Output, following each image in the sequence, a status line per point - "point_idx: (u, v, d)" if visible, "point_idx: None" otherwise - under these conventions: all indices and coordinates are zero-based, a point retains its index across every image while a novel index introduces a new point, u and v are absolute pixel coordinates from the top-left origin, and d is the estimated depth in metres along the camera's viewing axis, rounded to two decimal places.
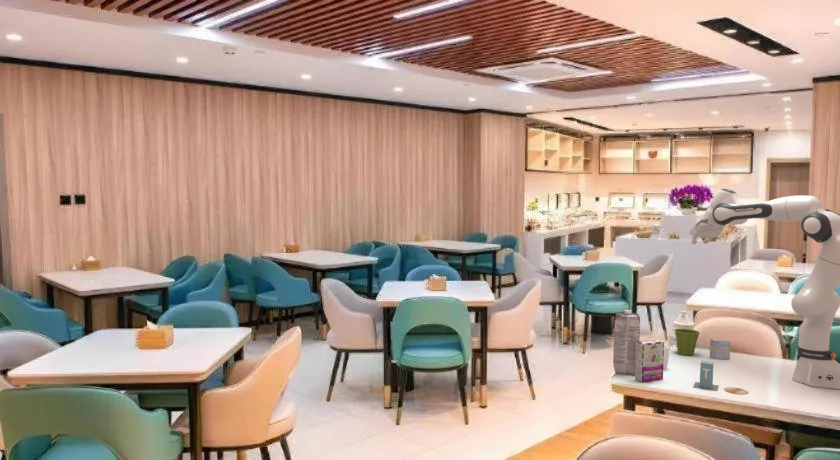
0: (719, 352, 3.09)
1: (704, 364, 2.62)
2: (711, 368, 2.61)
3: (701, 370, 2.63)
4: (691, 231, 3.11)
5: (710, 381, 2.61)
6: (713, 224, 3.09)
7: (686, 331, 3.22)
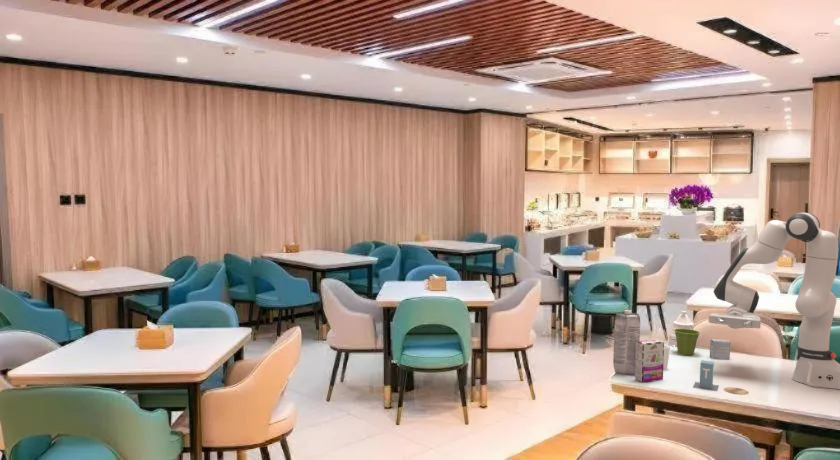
0: (719, 352, 3.09)
1: (704, 364, 2.62)
2: (711, 368, 2.61)
3: (701, 370, 2.63)
4: None
5: (710, 381, 2.61)
6: (728, 310, 2.86)
7: (686, 331, 3.22)
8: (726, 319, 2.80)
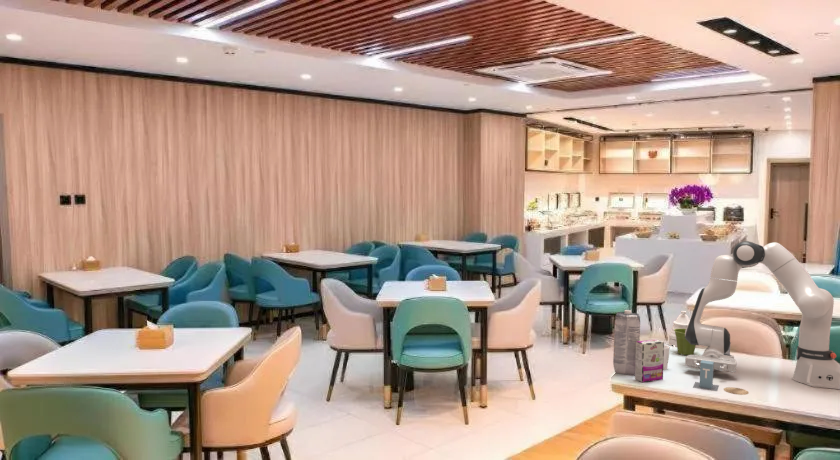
0: None
1: (704, 364, 2.62)
2: (711, 368, 2.61)
3: (701, 370, 2.63)
4: None
5: (710, 381, 2.61)
6: (705, 352, 2.86)
7: None
8: None
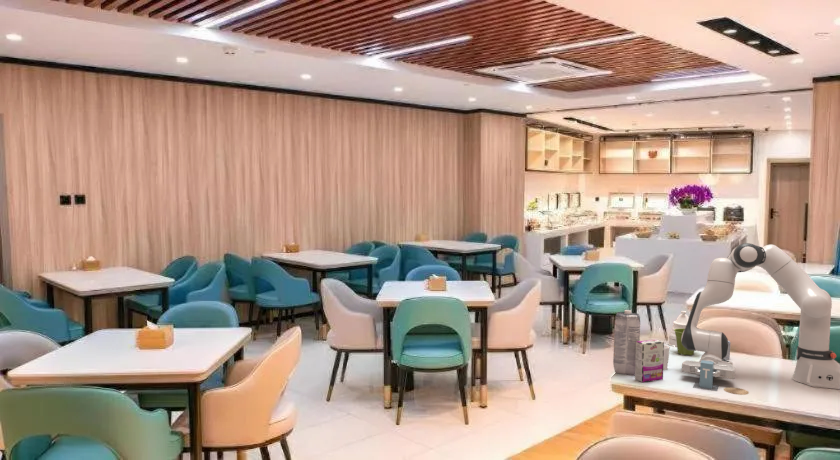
0: None
1: (704, 364, 2.62)
2: (711, 368, 2.61)
3: (701, 370, 2.63)
4: None
5: (710, 381, 2.61)
6: (702, 357, 2.76)
7: None
8: (699, 368, 2.70)
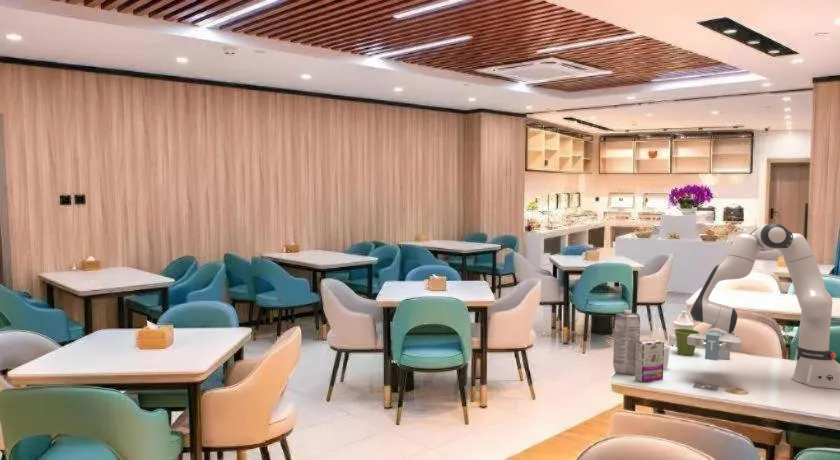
0: (719, 352, 3.09)
1: (709, 336, 2.60)
2: (717, 340, 2.59)
3: (706, 342, 2.61)
4: None
5: (716, 353, 2.60)
6: (708, 331, 2.74)
7: (686, 331, 3.22)
8: (705, 341, 2.68)
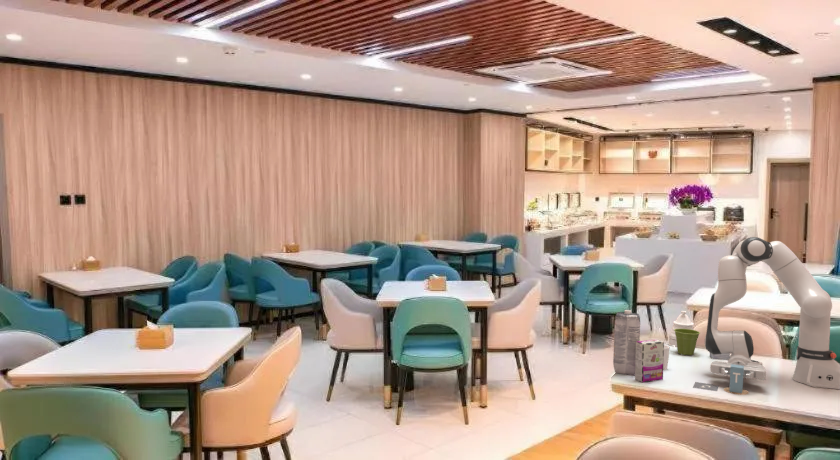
0: None
1: (734, 368, 2.56)
2: (742, 372, 2.55)
3: (731, 374, 2.57)
4: None
5: (740, 385, 2.55)
6: (731, 358, 2.70)
7: (686, 331, 3.22)
8: (728, 369, 2.64)
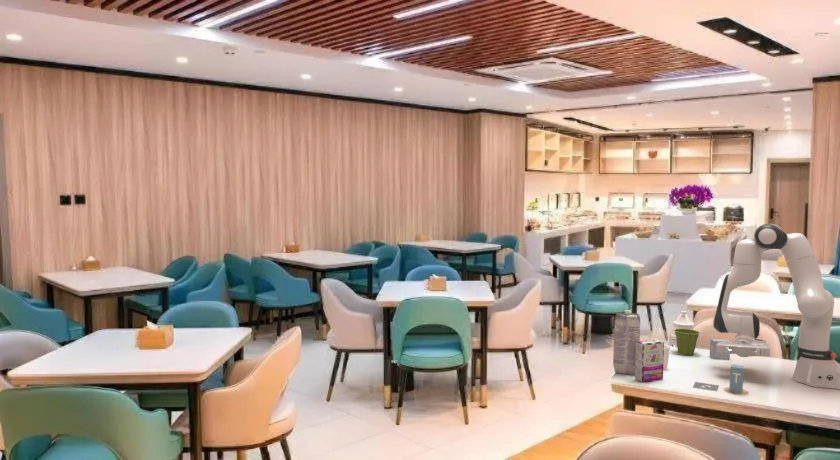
0: None
1: (734, 368, 2.56)
2: (741, 372, 2.55)
3: (731, 374, 2.57)
4: None
5: (740, 386, 2.55)
6: (736, 338, 2.81)
7: (686, 331, 3.22)
8: (734, 348, 2.75)
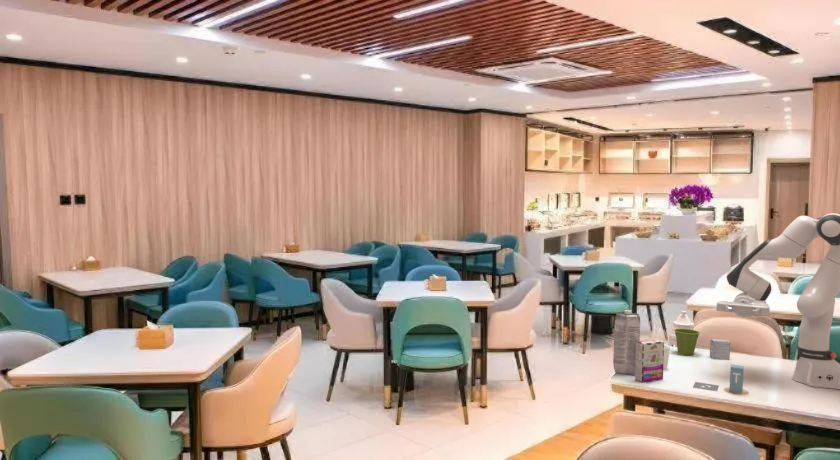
0: (719, 352, 3.09)
1: (734, 368, 2.56)
2: (741, 372, 2.55)
3: (731, 374, 2.57)
4: None
5: (740, 386, 2.55)
6: (736, 298, 2.83)
7: (686, 331, 3.22)
8: (734, 307, 2.76)
